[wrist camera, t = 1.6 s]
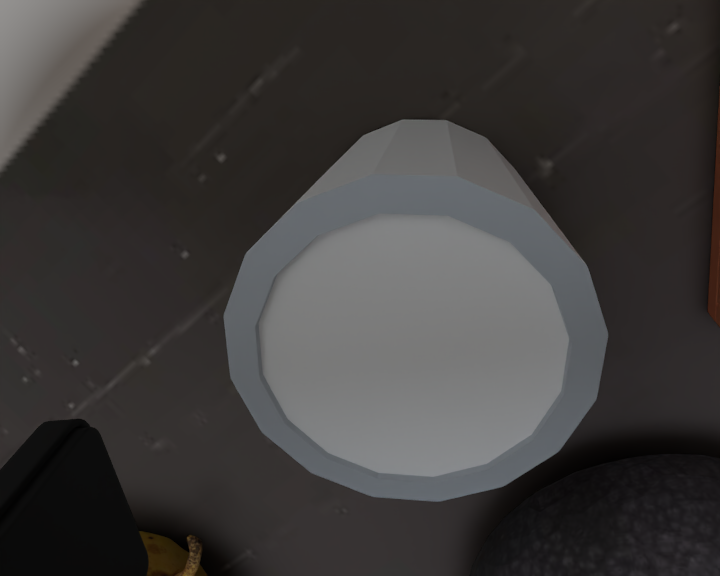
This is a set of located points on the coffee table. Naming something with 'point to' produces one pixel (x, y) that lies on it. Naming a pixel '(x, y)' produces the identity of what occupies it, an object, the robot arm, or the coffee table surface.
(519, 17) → the coffee table surface
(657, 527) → the teapot
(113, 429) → the coffee table surface
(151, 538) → the fruit
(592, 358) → the grey tapered cup
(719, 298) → the terracotta tray
